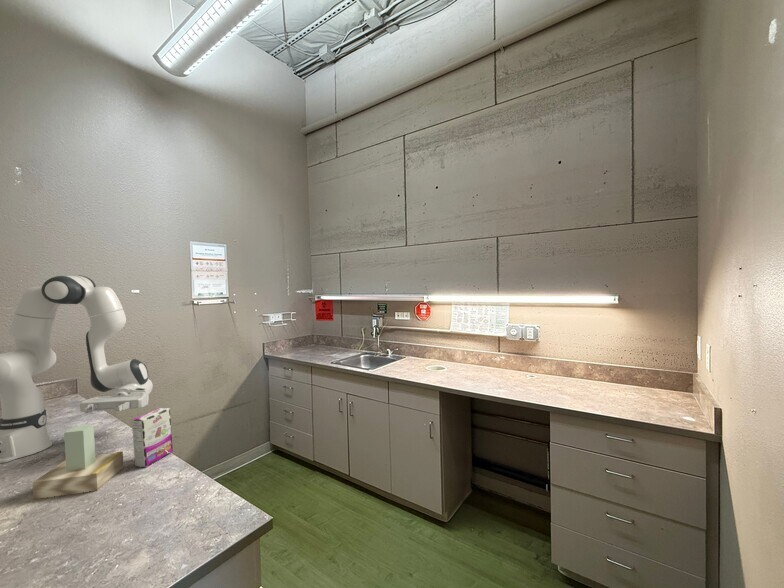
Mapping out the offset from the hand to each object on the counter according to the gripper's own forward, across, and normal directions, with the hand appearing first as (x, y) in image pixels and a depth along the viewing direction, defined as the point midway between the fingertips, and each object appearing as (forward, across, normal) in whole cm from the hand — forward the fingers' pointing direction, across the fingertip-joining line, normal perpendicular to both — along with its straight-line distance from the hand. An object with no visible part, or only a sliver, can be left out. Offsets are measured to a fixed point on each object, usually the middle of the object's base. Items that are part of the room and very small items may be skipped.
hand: (102, 410), depth 122 cm
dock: (+16, +3, +18) cm, 24 cm away
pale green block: (+15, +3, +12) cm, 20 cm away
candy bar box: (+5, +19, +17) cm, 26 cm away
